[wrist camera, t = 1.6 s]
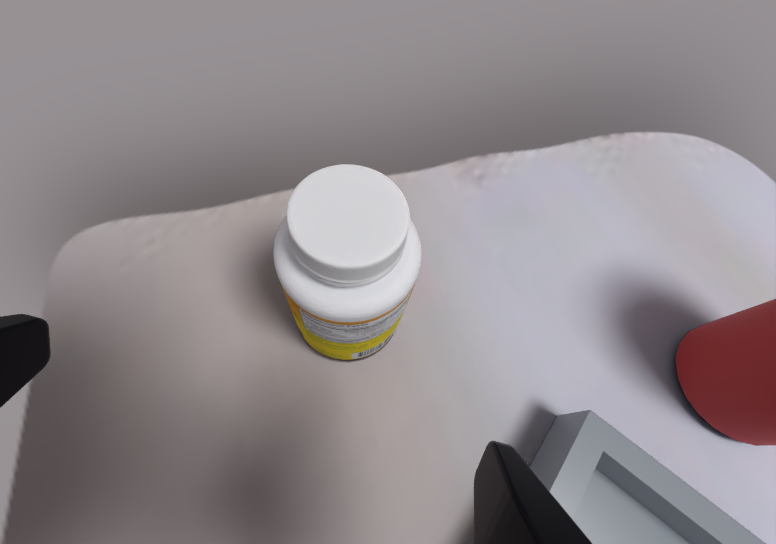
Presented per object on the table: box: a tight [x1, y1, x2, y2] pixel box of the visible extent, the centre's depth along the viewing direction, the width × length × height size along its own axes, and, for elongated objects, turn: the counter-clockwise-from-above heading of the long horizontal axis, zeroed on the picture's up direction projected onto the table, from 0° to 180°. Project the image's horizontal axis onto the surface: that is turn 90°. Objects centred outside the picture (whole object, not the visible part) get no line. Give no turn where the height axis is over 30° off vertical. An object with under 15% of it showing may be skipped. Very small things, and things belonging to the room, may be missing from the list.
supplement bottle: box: [273, 164, 421, 362], centre depth 17 cm, size 6×6×10 cm
